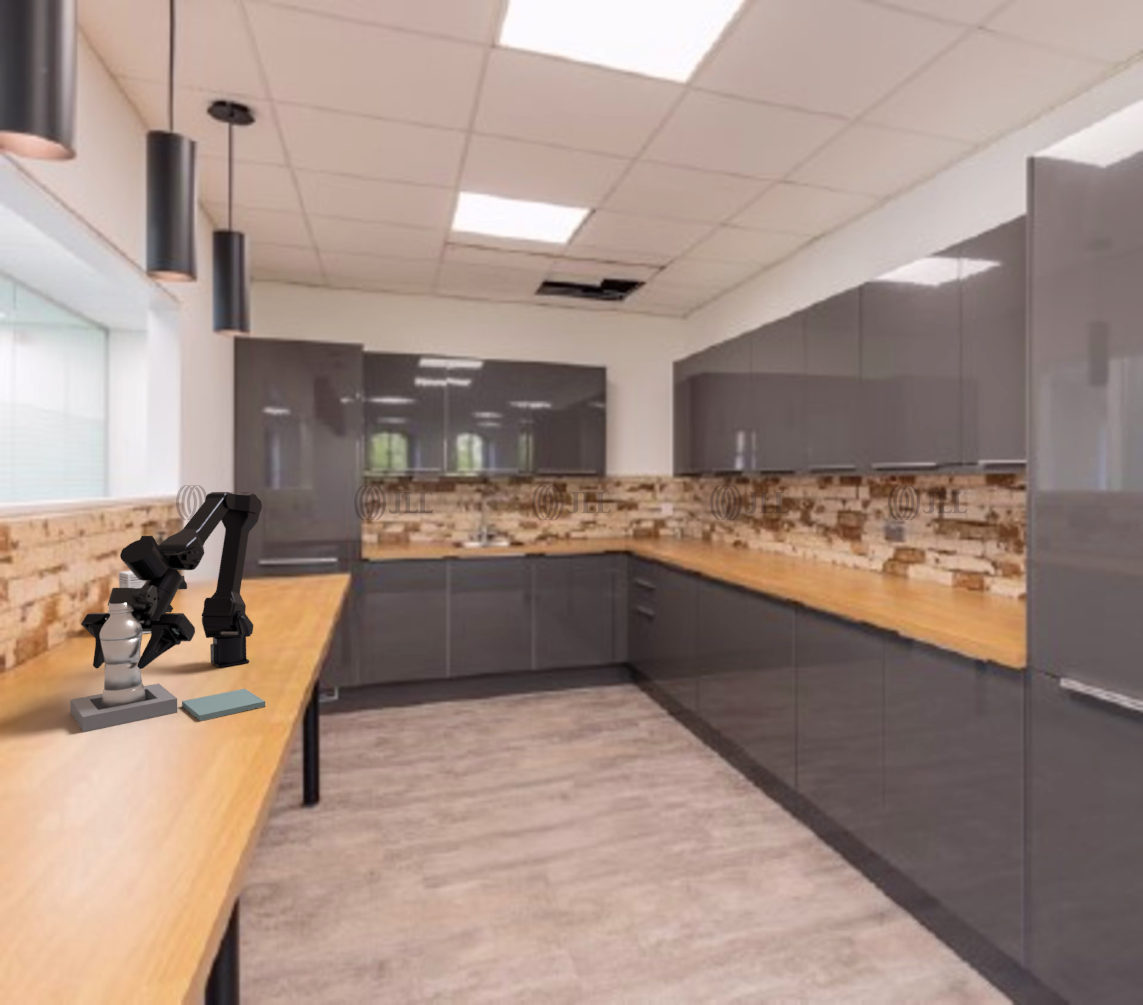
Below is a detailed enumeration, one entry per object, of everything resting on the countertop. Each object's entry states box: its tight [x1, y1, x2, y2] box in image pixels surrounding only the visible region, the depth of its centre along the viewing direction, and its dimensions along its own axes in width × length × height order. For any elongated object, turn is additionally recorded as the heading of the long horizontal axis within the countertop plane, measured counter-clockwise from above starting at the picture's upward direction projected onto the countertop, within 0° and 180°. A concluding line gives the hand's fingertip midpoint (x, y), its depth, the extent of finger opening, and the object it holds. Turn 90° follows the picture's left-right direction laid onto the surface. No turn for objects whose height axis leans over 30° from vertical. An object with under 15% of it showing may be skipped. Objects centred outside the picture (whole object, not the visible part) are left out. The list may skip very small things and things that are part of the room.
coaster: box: [181, 688, 266, 722], centre depth 128 cm, size 11×11×1 cm
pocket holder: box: [69, 682, 178, 733], centre depth 125 cm, size 14×13×2 cm
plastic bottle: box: [100, 603, 145, 709], centre depth 124 cm, size 6×7×20 cm
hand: (117, 667), depth 123 cm, fingers open, 8 cm apart
